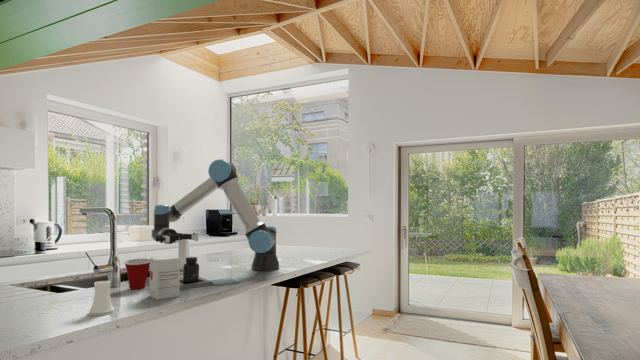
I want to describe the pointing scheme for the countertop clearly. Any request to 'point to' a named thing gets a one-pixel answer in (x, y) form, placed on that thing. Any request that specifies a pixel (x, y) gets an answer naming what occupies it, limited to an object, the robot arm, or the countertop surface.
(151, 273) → the supplement box
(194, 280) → the supplement bottle
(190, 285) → the grey square tray
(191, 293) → the countertop surface
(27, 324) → the countertop surface
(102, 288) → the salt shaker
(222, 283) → the drip mat
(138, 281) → the plastic cup
